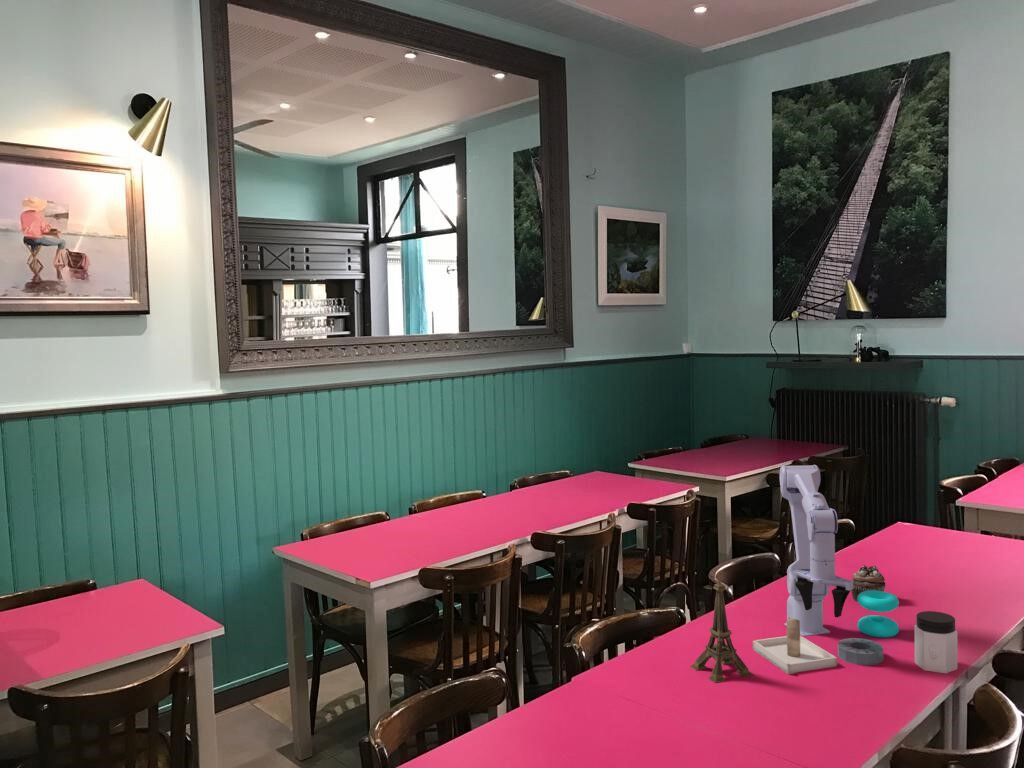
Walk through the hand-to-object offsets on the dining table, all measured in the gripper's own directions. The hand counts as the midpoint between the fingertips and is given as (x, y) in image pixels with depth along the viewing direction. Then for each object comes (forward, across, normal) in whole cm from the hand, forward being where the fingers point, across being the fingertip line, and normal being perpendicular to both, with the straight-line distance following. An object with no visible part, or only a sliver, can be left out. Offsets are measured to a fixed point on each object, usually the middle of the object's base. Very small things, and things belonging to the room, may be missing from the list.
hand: (823, 612), depth 205 cm
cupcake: (+11, -10, +46) cm, 48 cm away
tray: (+10, -4, -7) cm, 13 cm away
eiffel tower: (+11, -13, -25) cm, 30 cm away
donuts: (+11, +4, +23) cm, 25 cm away
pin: (+10, -4, -7) cm, 13 cm away
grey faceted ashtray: (+10, +8, +3) cm, 13 cm away
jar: (+10, +23, +10) cm, 27 cm away
